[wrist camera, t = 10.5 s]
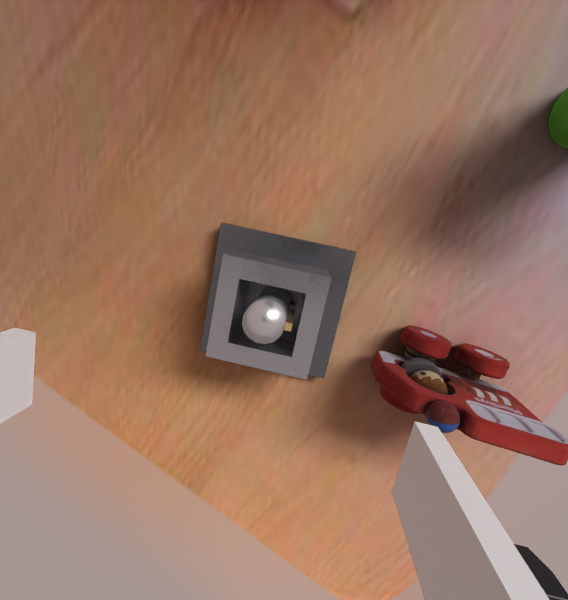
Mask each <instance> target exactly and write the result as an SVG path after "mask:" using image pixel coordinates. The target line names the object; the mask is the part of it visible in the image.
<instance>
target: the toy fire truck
mask: <svg viewBox="0 0 568 600" xmlns="http://www.w3.org/2000/svg"><path fill="white" fill-rule="evenodd" d="M400 340H401V342H402V343H403V344H404V345H405V346H407V348H406V349H405V353H404V354H405V357H402V356H399V355H396V354H392V353H389V352H386V351H381V350H379V351H377V352H376V353H375V355H374V357H373V359H372V362H371V367H372V370H373V372H374V375H375V377H376V379H377V380H378V381H379V382H380V383H381V384H382V387H381V389H380V393H381V395H382V397H383V398H384V399H385V400H386V401H387V402H388V403H390V404H391V405H392V406H394V407H396V408H398V409H400V410H402V411H405V412H409V413H414V414H417V413H421V414H424V415H426V417H427V420H428V422H429V423H430V425H432V426H436V427H438V428H439V429H440V431H441V432H443V433H449V432H452V431H454V430H455V429H458V430H460V431H461V432H463V433H464V434H465V435H467V436H469V437H471V438H473V439H475V440H478V441H482V442H484V443H488V444H491V445H495V446H497V447H501V448H504V449H508V450H511V451H515V452H517V453H521V454H524V455H527V456H531V457H534V458H537V459H540V460H543V461H547V462H550V463H553V464H557V465H565V464H566V462H567V460H568V440H567V439H566V438H564V437H563V436H562V435H561V434H560V433H559V432H558V431H556V430H555V429H554V428H552V427H551V426H549V425H547V424H545V423H543V422H542V421H540V420H539V419H538V418H537V417H536V416H535V415H534V414H533V413H531V412H530V411H529V410H528V409H527V408H526V407H525V406H524V405H522V404H521V403H520V402H519V401H518V400H517V399H516V398H514V397H513V396H512V395H511V394H510V393H509V392H508V391H507V390H505V389H504V388H502V387H500V386H498V385H495V384H492V383H489V382H486V381H483V380H480V379H479V378H480V376H481V375H484V376H488V377H491V378H496V379H502V378H504V377H505V375H506V372H507V370H508V368H509V364H510V363H509V362H508V361H507V360H506V359H505V358H503V357H501V356H499V355H497V354H495V353H493V352H491V351H488V350H485V349H483V348H480V347H477V346H474V345H470V344H460V345H459V346H458V348H457V351H456V353H455V356H454V359H455V360H456V361H457V362H458V363H460V364H461V365H463V366H464V367H466V368H468V369H470V370H469V373H468V374H464V373H463V374H459V373H456V372H452V371H449V370H446V369H443V368H439V367H437V366H436V365H435V364H434V361H435V358H436V359H445V358H446V357H447V356H448V353H449V351H450V349H451V342H450V341H448V340H447V339H446V338H444V337H442V336H440V335H438V334H436V333H434V332H431V331H429V330H426V329H423V328H420V327H416V326H409V325H408V326H406V327H405V328H404V330H403V333H402V335H401V338H400Z"/></svg>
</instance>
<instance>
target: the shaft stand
mask: <svg viewBox="0 0 568 600" xmlns="http://www.w3.org/2000/svg"><path fill="white" fill-rule="evenodd" d="M235 251H243V252H247V253H252V254H257V255H261V256H266V257H270V258H275V259H279V260H284V261H289V262H293V263H298V264H302V265H307V266H311V267H316V268H321V269H325V270H328V272H329V274H330V276H331V282H330V286H329V290H328V295H327V299H326V303H325V307H324V311H323V315H322V319H321V324H320V328H319V332H318V336H317V340H316V344H315V348H314V353H313V357H312V361H311V365H310V369H309V373H308V375H310V376H315V377H319V378H323V379H324V377H325V373H326V369H327V365H328V361H329V357H330V353H331V349H332V345H333V341H334V337H335V333H336V329H337V325H338V321H339V317H340V314H341V310H342V306H343V302H344V298H345V294H346V290H347V286H348V282H349V278H350V274H351V270H352V266H353V262H354V258H355V254H356V252H355V251H352V250H347V249H342V248H338V247H333V246H328V245H324V244H319V243H314V242H310V241H305V240H301V239H296V238H291V237H287V236H282V235H277V234H273V233H268V232H263V231H259V230H254V229H249V228H245V227H240V226H236V225H231V224H226V223H221V226H220V232H219V238H218V244H217V250H216V256H215V262H214V268H213V274H212V280H211V286H210V292H209V298H208V304H207V310H206V316H205V322H204V328H203V334H202V340H201V346H200V350H202V351H206V350H207V344H208V339H209V333H210V327H211V321H212V315H213V309H214V304H215V298H216V292H217V286H218V280H219V274H220V268H221V263H222V257H223V254H226V253H231V252H235ZM304 295H305V293H302V292H297V291H293V290H288V289H284V288H279V287H275V286H270V285H265V284H261V283H256V282H252V281H250V286H249V291H248V297H247V302H246V307H245V312H244V315H243V318H242V326H243V330H244V332H245V334H246V335H247V336H248V337H249V338H250V339H251V340H253V341H254V342H257V343H261V344H268V343H271V342H274V341H275V340H277V339H278V338H279V337H280V336H281V335H282V333H285V334H290V335H294V336H295V335H296V330H297V326H298V321H299V317H300V313H301V308H302V304H303V299H304Z"/></svg>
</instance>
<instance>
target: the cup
mask: <svg viewBox="0 0 568 600" xmlns="http://www.w3.org/2000/svg"><path fill="white" fill-rule="evenodd" d="M549 131H550V134H551V137H552V138H553V140H554V141H555V142H556V143H557V144H558V145H559V146H560V147H563V148H565V149H568V88H567V89H566V90H565V91H564V92H563V93H562V94H561V95H560V96H559V98H558V99H557V101H556V102H555V104H554V106H553V108H552V110H551V113H550V117H549Z"/></svg>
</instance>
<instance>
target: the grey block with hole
mask: <svg viewBox="0 0 568 600" xmlns="http://www.w3.org/2000/svg"><path fill="white" fill-rule="evenodd" d="M250 281H252V282H256V283H261V284H265V285H270V286H275V287H279V288H284V289H288V290H293V291H297V292H302V293H305V295H304V299H303V304H302V308H301V313H300V317H299V321H298V326H297V330H296V335H295V336H294V335H290V334H285V333H282V335H281V336H280V337H279V338H278V339H277V340H275V341H274V342H271V343H268V344H261V343H257V342H254V341H253V340H251V339H250V338H249V337H248V336H247V335H246V334H245V332H244V330H243V326H242V318H243V315H244V312H245V307H246V302H247V297H248V291H249V286H250ZM330 282H331V276H330V274H329V272H328V270H325V269H321V268H316V267H311V266H307V265H302V264H298V263H293V262H289V261H284V260H279V259H275V258H270V257H266V256H261V255H257V254H252V253H247V252H243V251H235V252H231V253H226V254H223V257H222V263H221V268H220V274H219V280H218V286H217V292H216V298H215V304H214V309H213V315H212V321H211V327H210V333H209V339H208V344H207V350H206V357H211V358H215V359H219V360H224V361H228V362H232V363H236V364H241V365H245V366H249V367H254V368H258V369H262V370H267V371H271V372H275V373H280V374H284V375H288V376H293V377H297V378H301V379H306V380H307V377H308V373H309V369H310V365H311V361H312V357H313V353H314V348H315V344H316V340H317V336H318V332H319V328H320V324H321V319H322V315H323V311H324V307H325V303H326V299H327V295H328V290H329V286H330Z"/></svg>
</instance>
